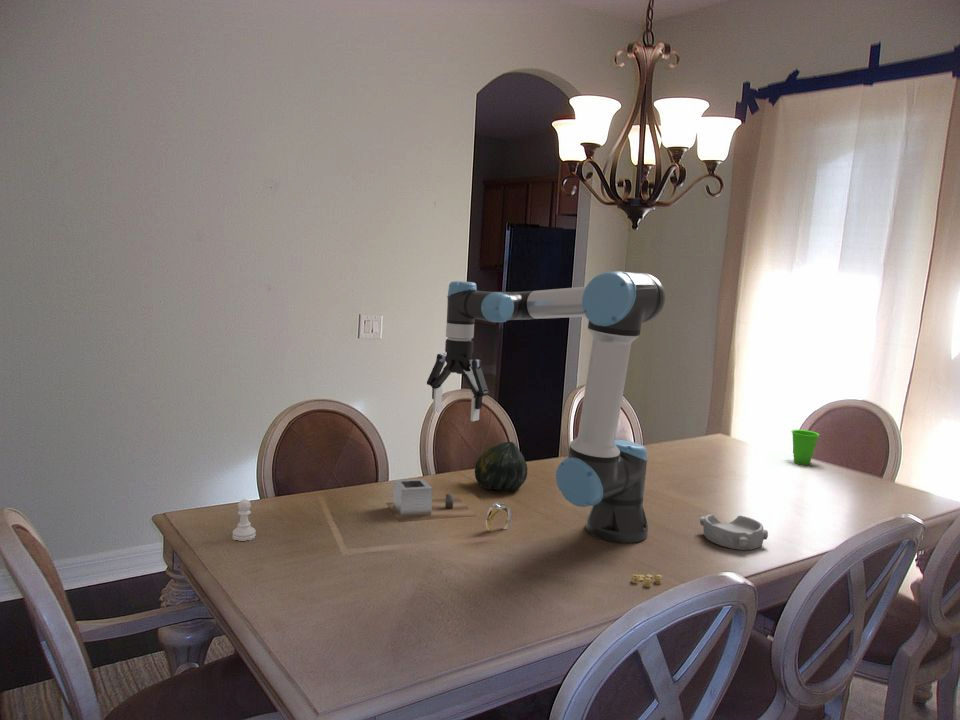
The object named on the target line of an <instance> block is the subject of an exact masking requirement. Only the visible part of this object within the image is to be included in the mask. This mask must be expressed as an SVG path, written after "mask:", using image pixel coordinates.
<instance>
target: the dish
mask: <svg viewBox="0 0 960 720" xmlns="http://www.w3.org/2000/svg"><path fill="white" fill-rule="evenodd" d="M699 523H700V526H702V529H703V534H704V537H705V538H706V539H707V540H708V541H710V542H712V543H714V544H716V545H718V546H722V547H725V548H730V549H732V550H739V551H749V550H754V549H758V548H760V547H762V545H763V542H764V540H767V539H768V537H769V532H768V530H767V529H764V525H763V524H762V523H761V522H760V521H758V520H756V519H754V518H751V517H749V516H748V517H747V516H743V515H737V517H736V518H735V519H733V520H732V521H730V522H721V521H720V520H719V519H718V518H716V517H715V515H714V514H713V513H710V514H708V515H706V516H700V519H699Z"/></svg>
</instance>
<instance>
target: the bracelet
mask: <svg viewBox="0 0 960 720" xmlns="http://www.w3.org/2000/svg"><path fill="white" fill-rule="evenodd" d="M500 510H503V511H504V513H505V515H506V522H505V524H504V526H502V530H507V529H508V528H509V527H510V524H511V523H512V511H511V509H510V507H509V506H507V505H505V502H504V501H503V502H502V503H500V501H497V502H495V503H493V504H492V505H491V506H490V508H489V509H488V511H487V514H486V517H485V526H486V529H487V530H488V531H489V532H490V533H492V532H494V530H493V529H492V527H491V522H492V520H493V517H494V516H496V515H497V514H498V513H499V512H500Z"/></svg>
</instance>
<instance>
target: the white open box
mask: <svg viewBox="0 0 960 720" xmlns="http://www.w3.org/2000/svg"><path fill="white" fill-rule="evenodd" d="M392 495H393V496H392V502H393V507H394V509H395V510H396V512H397V513H398V515H399V516H400V517H410V516H423V515H431V510H432V500H433V487H432V486H431V484H429V482H427V480H426V479H425V478H411V479H410V478H409V479H408V478H407V479H395V480H394V479H393V493H392Z"/></svg>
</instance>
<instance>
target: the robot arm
mask: <svg viewBox="0 0 960 720" xmlns="http://www.w3.org/2000/svg"><path fill="white" fill-rule="evenodd" d="M447 291H448V292H447V295H446V298H447V305H446V306H447V309H446V310H447V312H446V313H447V314H446V325H445V326H446V327H445V328H446V329H445V337H446V339H445V343H444V345H445V346H444V351H445V353H437V354H436V359H435V364H434V365H433V367H432V369H431V372H430V374H429V376H428V378H427V381H426V385H428V386H430V387H431V388H432V390H431V393H432V394H431V395H432V396H431V398H432V400H433V402H432V412H433V413H437V412H442V405H443V403H442V402H443V388H442V385H443V383H445V381H446V380H447V379H448V378H449V376H450V375H451V374H452V373H454V374H455V373H456V374H458V375H461V376H462V377H464V379H465V381H466V382H467V385H468V387H469V388H470V389H469V390H471V392H472V394H473V396H471V405H470V406H471V408H470V422H475V421H479V420H480V410H481V409H482V408H483V405H482V404H483V397H485V396H489V394H490V392H489V388H488V386H487V383H486V379H485V376H484V373H483V370H482V360H481V359H472V354H473V353H474V341H473V340H472V339H474V337H475V336H474V335H475V322H476V321H475V320H480V321H486V322H487V321H488V322H490V323H506V322H507V321H517V320H519V321H523V320H524V321H525V320H527V321H528V320H529V321H531V320H535V319H536V320H538V319H542V320H543V319H560V318H587V320H588V324H587V330H588V331H589V333H590V334H591V336H592V341H591V348H590V353H589V356H590V357H589V361H588V368H587V374H586V382H585V387H584V394H583V395H584V396H583V401H582V407H581V413H580V420H579V428H578V432H577V433H578V434H577V437H575V438H574V439H573V440H572V441H570V443H569V447H568V456H567V457H566V458H564V459H563V460H562V461H561V462H560V463H559V464H558V466H557V468H556V471H555V482H556V486H557V487H558V490H559V491H560V492H561V494H562V497H563V498H565V500H566V501H567V502H569V504H572V505H574V506H576V507H581V508H586V507H589V506H591V508H590V511H589V513H588V516H587V518H586V526H585V529H586V531H587V532H588V533H589V534H590V535H591V536H593V537H595V538H598V539H601V540H604V541H608V542H613V543H623V544H626V543H627V544H629V543H630V544H631V543H637V542H641V541H644V540H645V539H646V538H647V537H648V533H649V524H648V520H647V517H646V516H647V515H646V512H645V508H644V498H645V497H644V494H645V485H646V484H645V483H646V475H647V474H646V473H647V464H648V450H647V448H646V446H644V445H642V444H640V443H637V442H633V441H629V440H624V439H616V438H617V432H618V427H619V422H620V421H619V420H620V414H621V408H622V403H623V397H624V391H625V390H624V389H625V384H626V379H627V372H628V365H629V360H630V354H631V348H632V343H633V342H635V340H636V339H638V338H640V336H641V332H642V331H641V329H642V324H643V323H648V322H650V321H652V320H654V319H655V318H657V316H659V315H660V313H661V312H662V310H663V308H664V306H665V303H666V291H665V288H664V285H663V284H662V283H661V281H660V280H659V279H658V278H657V277H655V276H653V275H652V274H650V273H646V272H641V271H640V272H638V271H637V272H635V271H634V272H633V271H632V272H631V271H620V270H612V271H607V272H602V273H600V274H597V275H596V276H594V277H593V278H592V279H590V281H589V282H588V283H587V285H586V286H578V287H567V288H566V287H565V288H552V289H542V290H541V289H540V290H527V291H482V290H478V289H477V283H475V282H473V281H461V280H460V281H458V280H455V281H454V280H453V281H451V282H450V283H449V284H448V290H447ZM445 364H446V365H445Z"/></svg>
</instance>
